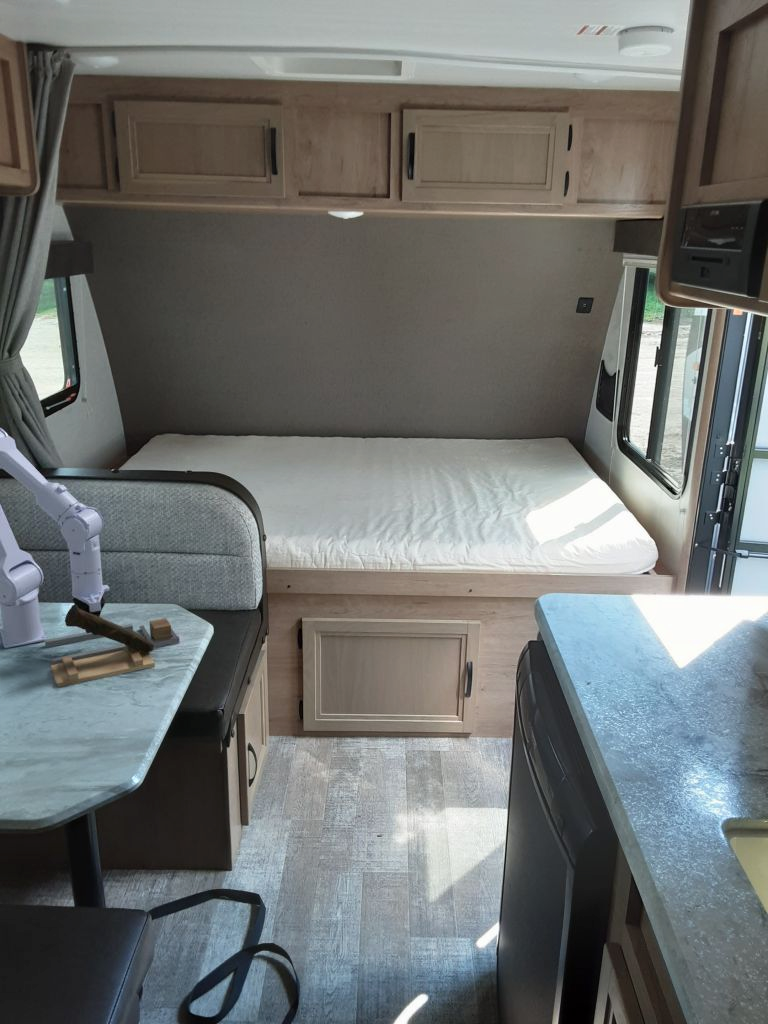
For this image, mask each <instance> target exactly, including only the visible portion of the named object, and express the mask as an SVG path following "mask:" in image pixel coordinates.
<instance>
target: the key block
mask: <svg viewBox="0 0 768 1024" xmlns="http://www.w3.org/2000/svg"><path fill="white" fill-rule="evenodd" d="M171 628H172V625H171V623H170V622H169V621H168V619H167V618H166V617H164V618H160V619H153V620H149V631H150V632H149V635H150V637H151V638H152V640H153V641H154V640H159V639H164V638H169V637H171Z"/></svg>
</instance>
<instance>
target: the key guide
mask: <svg viewBox="0 0 768 1024" xmlns="http://www.w3.org/2000/svg"><path fill="white" fill-rule="evenodd" d="M139 631H140V632H141V635H142V636H143V637H144V638H146V639H148V641H149V642H151V643H152V644H153V645H154V649H156V648H161V647H166V646H171V645H176V644H180V643H181V642H180V637H179V635H177V634H176V632H175V631H174V630H173V628H172V627H171V637H169V638H164V639H159V640H154V641H153V639H152V638H151V636H150V633H149V632H148V630H147V629H146V628H145V626H144V625H140V626H139Z"/></svg>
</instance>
